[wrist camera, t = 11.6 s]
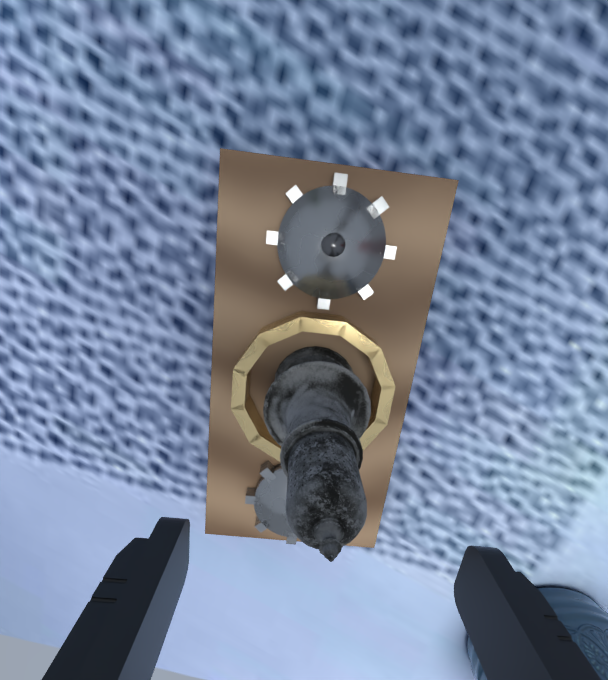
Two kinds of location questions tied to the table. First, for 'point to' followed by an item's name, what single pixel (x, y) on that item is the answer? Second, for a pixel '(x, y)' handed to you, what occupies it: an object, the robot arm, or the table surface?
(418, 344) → the gear board
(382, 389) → the brass collar
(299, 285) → the drive gears
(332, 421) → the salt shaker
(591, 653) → the canister
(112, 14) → the table surface
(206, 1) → the table surface
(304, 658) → the table surface
